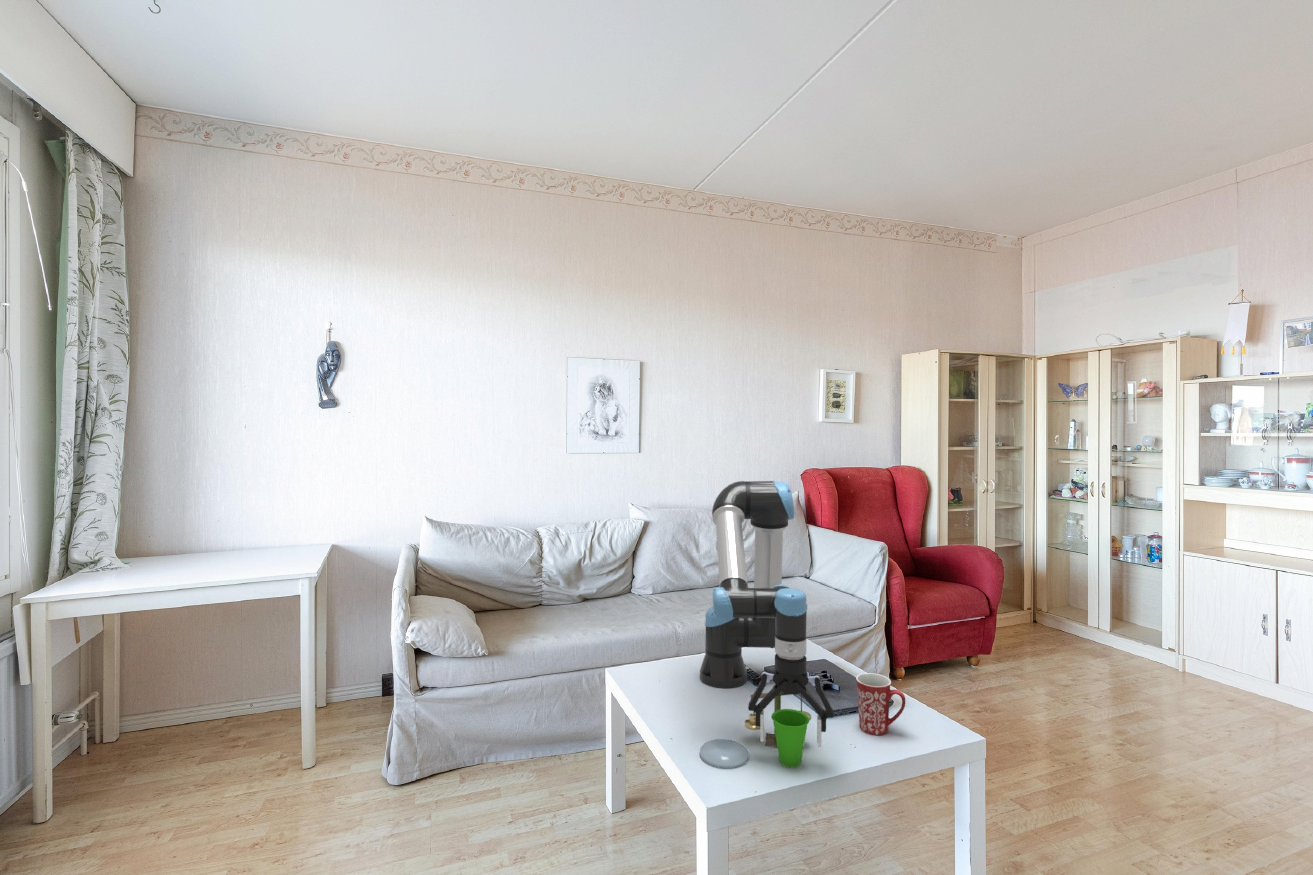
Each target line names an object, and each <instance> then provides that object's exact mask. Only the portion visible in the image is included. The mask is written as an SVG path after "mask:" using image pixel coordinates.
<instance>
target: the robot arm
mask: <svg viewBox="0 0 1313 875" xmlns="http://www.w3.org/2000/svg"><path fill="white" fill-rule="evenodd" d="M711 512H712V513H711V515H712V516H711V519H712V522H713V524H714V525H715V529H716V546H717V548H716V550H717V561H718V562H717V567H718V568H717V569H718V582H719V584H718V587H714V588H713V590H712V606H710V607H709V608H708V609H707V610H706V611H705V622H704V626H705V642H704V643H705V645H704V646H705V653H704V657H703V660H702V662H701V666H700V670H699V679H700V681H701V682H702V683H704V684H706V685H708V686H710V687H714V688H723V689H729V688H731V689H732V688H737V687H740V686H743V685H744V684H746V682H747V681H748V671H747V668H746V667H747V666H746V664H745V661H744V659H743V655H742V649H743V648H757V649H758V648H762V649H763V648H764V649H774V652H775V655H774V672H773V673H771V672H770V673H769V672H768V671H766V670H763V671H762V672H761V680H760V681H759V683H758V685H757V687H756V689H755V690H754V693H753V694H752V695H753V696H752V698H751V697H750V700H749V702H748V706H747V709H748V711H750V712H753V711H754V712H755V714H756V726H760V731H759V734H760V736H759V737H760V740H759V741H760V742H762V743H763V742H764V739H765V738H764V737H765V736H764V734H765V733H764V732H765V731H764V727H765V726H764V725H765V724H764V722H765V721H764V716H765V715H764V714H765V713H764V712H765V711H764V710H765V708H767V707H768V705H770V704H771V702H772V701H774V698H775V697H776V696H777V695H779V693H780V692H783V693H784V694H791V695H794V696H797V695H799V694H800V696H801V695H802V698H804V699H805V700H806V701H807V703H808V704H809V705H810V706H811V708H812V709H813V710H814V711H815V713H816V714H817V717H816V719H817V720H816V721H817V722H816V724H817V725H816V726H817V728H816V732H817V733H816V734H817V735H816V740H817V741H816V742H817V748H822V733H826V732H827V719H828V718H831V719H832V718H834V717H835V712H834V708H833V707H832V705H831V703H830V701H829V699H828V697H827V695H826V693H825V690H824V689H823V687H822V685H821V680H820V679H821V678H820V676H819V674H818V673H816V674H814V675H811V676H808V674H807V618H808V617H807V613H808V612H807V610H808V604H807V595H806V592H804V591H803V590H801V589H797V588H790V586H787V585H785V584H782V582H783V581H782V579H783V578H782V576H783V540H784V530H786V529H787V528H788V526H789V521H791V520H793V519H794V518H795V506H794V499H793V494H792V490H791V486H790V485H789V484H788V483H787V482H785V481H775V480H766V481H765V480H761V481H759V480H757V481H755V480H754V481H753V480H752V481H745V480H740V481H735V482H733V483H731V484H728V485H727V486H726V487H724V488H723V489H722V490H721V491H720V492H719V494H718V495H717V497H716V498H715V500H714V502H713V505H712V510H711ZM745 520H750V522H749V523H750V526H751V527H752V528H753V529H754V569H753V570H754V574H753V576H754V577H753V587H748V586H749V585H748V584H749V583H748V574H747V564H746V556H745V544H744V543H745V542H744V534H743V533H744V532H743V523H744V521H745ZM771 680H773V682H774V686H773V687H772V688H771V690H770V691H768V692H767V693H768V694H767V695H766V696H765V697H764V698H761V700H760V698H759V697H760V695H761V693H764V690H765V688H766V685H767V684H769V683H770V681H771ZM809 683H810V684H811V686H812V687H815V691H816V692H817V694H818V696H819V699H820V700H821V702H822V705H823V707H824V708H825V709H824V708H823V707H822V706H821V704H819V702H818V701H817V700H816V698H815V697H814V696H813V695H812V693H811V692H810V691H809V690H808V688H807V687H806V686H807V685H808V684H809ZM759 700H760V701H759ZM758 701H759V702H758ZM757 702H758V703H757Z"/></svg>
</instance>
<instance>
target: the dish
mask: <svg viewBox="0 0 1313 875" xmlns="http://www.w3.org/2000/svg"><path fill="white" fill-rule="evenodd" d="M749 755H750V753H749V749H748V747H746V745H744V744H742V743H741V742H739V741H737V740H733V739H729V738H715V739H711V740H708V741H705V742H704V743H703V744H702V745H701V746H700V749H699V757H700V758H701V761H702V762H704V763H705V764H707V765H708V766H711V767H712V768H716V769H722V770H724V769H725V770H730V769H731V770H732V769H736V768H739V767H742V766H744V765H746V763H747V762H748V761H749Z"/></svg>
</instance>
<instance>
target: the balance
mask: <svg viewBox="0 0 1313 875" xmlns="http://www.w3.org/2000/svg"><path fill="white" fill-rule="evenodd" d="M768 693H769V692H762V693H761V695H760V697H759V699H763V698H764V697H765V696H766V695H767V694H768ZM752 696H753V694H750V699H751V698H752ZM782 696H792V694H784V693H783V692H780V693H779V695H777V696H776V697H775V698H774V699H773V701H774V704H773V706H774V709H773V710H774V711H773V713H774V712H775V711H777V710H781V709H782V708H781V705H782V703H781V702H782V699H781V698H782ZM799 711H800V712H803V713H804V714H806V715H807V716H808V718H809V722H810V721H811V720H812V714H811V713H810V712H807V711H805V710H803V696H802V695H801V694H800V710H799ZM743 725H744V727H745V728H746V729H748V730H752V731H759V730H760V726H756V714H755V712H754V711H752V713H750V714H749V718H748V719H746V720H744V724H743ZM773 732H774V733H770V732H765V746H766V747H774V748H775V747H776V748H777V742H776V736H775V729H773Z"/></svg>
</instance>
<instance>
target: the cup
mask: <svg viewBox="0 0 1313 875" xmlns="http://www.w3.org/2000/svg"><path fill="white" fill-rule="evenodd" d="M800 711H801V710H797V709H792V708H783V709H782V708H781V710H777V711H775V712H774V711H773V712H772V713H771V716H770V717H771V720H772V722H773V727H774V729H775V736H776V742H777V747H776V748H777V754H778V760H779V762H780V764H781V765H782V766H783V767H787V768H798V767H799V766H800V765H801V763H802V757H803V752H804V748H805V740H806V736H807V729H808V724H809V723H810V721H809V718H808V716H807V715H806V714H804V713H803V712H800ZM774 729H773V730H774Z"/></svg>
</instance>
